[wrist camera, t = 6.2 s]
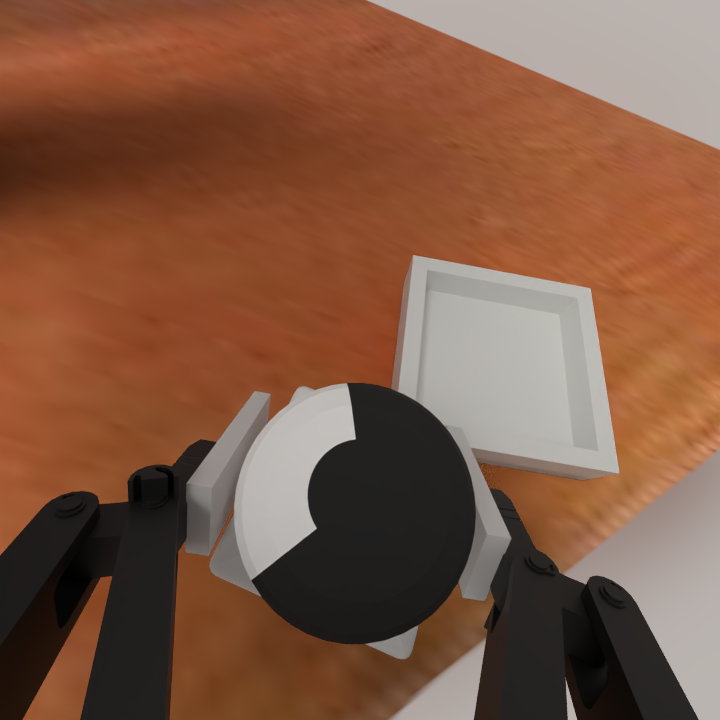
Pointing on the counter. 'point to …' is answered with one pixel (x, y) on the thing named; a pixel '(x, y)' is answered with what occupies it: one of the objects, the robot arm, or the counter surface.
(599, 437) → the grey square tray
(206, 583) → the counter surface
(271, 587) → the medicine bottle
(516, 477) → the counter surface
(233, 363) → the counter surface
